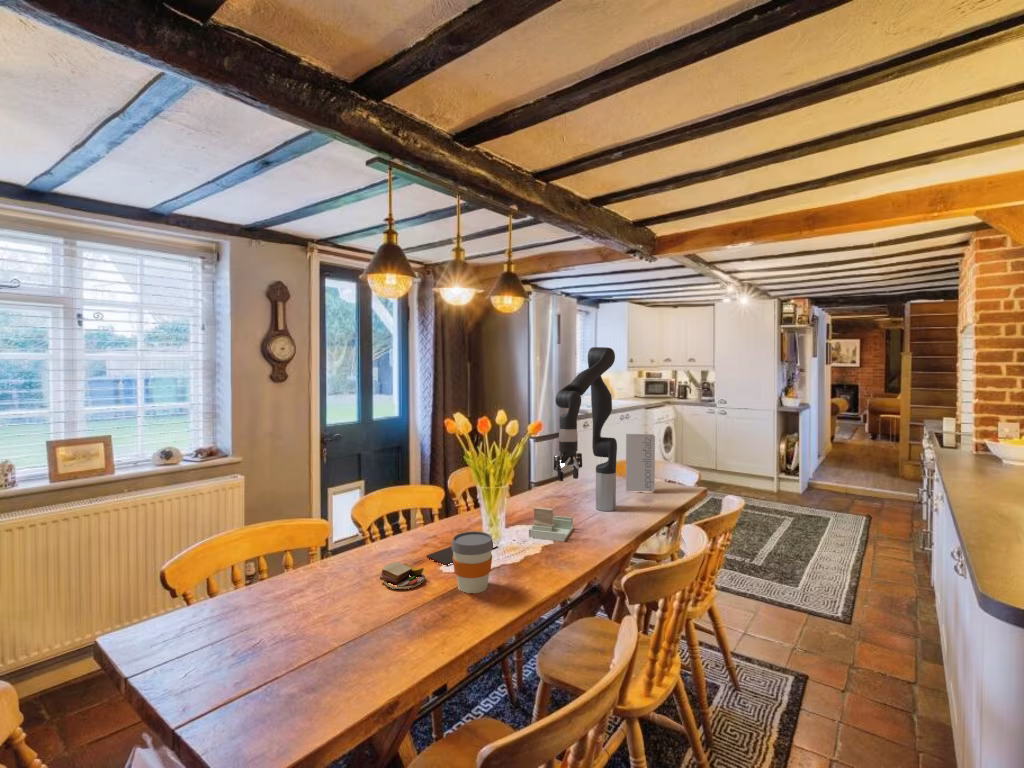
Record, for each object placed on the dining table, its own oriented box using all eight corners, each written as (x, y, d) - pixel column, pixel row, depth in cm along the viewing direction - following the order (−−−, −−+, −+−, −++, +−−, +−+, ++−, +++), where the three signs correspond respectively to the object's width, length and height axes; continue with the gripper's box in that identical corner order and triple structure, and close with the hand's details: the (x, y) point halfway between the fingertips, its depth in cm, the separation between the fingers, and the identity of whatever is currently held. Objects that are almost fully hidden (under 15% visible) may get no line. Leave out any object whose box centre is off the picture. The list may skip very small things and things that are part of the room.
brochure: (626, 492, 259) (626, 435, 257) (625, 489, 264) (626, 433, 263) (654, 493, 256) (654, 436, 255) (653, 490, 262) (653, 434, 260)
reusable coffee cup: (444, 592, 147) (443, 542, 147) (463, 575, 159) (463, 529, 158) (482, 599, 143) (482, 548, 142) (499, 581, 154) (499, 534, 154)
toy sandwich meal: (403, 595, 146) (403, 580, 145) (373, 584, 153) (373, 569, 153) (433, 580, 156) (433, 565, 156) (403, 570, 164) (403, 556, 163)
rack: (540, 524, 208) (540, 514, 208) (573, 528, 203) (573, 517, 203) (528, 537, 193) (528, 526, 193) (563, 541, 188) (563, 530, 188)
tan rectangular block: (535, 532, 196) (535, 507, 196) (552, 534, 194) (552, 508, 193) (534, 533, 194) (534, 508, 194) (551, 535, 192) (551, 510, 192)
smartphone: (423, 555, 174) (476, 536, 192) (423, 559, 174) (477, 540, 192) (445, 565, 165) (499, 544, 183) (445, 569, 165) (499, 548, 183)
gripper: (573, 438, 209) (573, 476, 209) (549, 440, 200) (549, 480, 200) (587, 439, 203) (586, 479, 203) (562, 441, 194) (562, 483, 194)
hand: (568, 479), depth 202 cm, fingers open, 8 cm apart
